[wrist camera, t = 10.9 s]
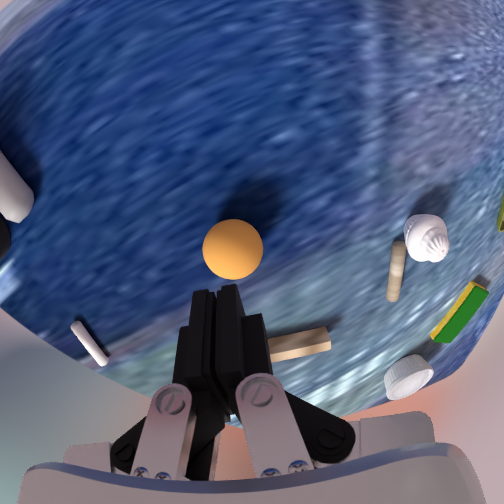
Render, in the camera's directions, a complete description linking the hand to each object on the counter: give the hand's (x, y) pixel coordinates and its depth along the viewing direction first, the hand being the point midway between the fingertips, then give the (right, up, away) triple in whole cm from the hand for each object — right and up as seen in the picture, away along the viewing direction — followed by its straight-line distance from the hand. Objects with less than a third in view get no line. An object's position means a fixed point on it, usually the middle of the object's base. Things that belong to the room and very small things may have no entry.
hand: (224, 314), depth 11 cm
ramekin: (+34, -22, +39) cm, 56 cm away
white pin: (-26, -9, +24) cm, 36 cm away
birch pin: (+20, +4, +21) cm, 29 cm away
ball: (-1, +3, +17) cm, 17 cm away
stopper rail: (+3, -11, +29) cm, 31 cm away
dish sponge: (+42, -9, +32) cm, 54 cm away
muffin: (+22, +6, +21) cm, 31 cm away
